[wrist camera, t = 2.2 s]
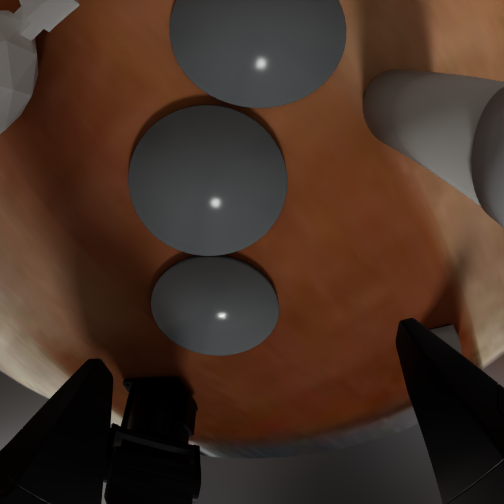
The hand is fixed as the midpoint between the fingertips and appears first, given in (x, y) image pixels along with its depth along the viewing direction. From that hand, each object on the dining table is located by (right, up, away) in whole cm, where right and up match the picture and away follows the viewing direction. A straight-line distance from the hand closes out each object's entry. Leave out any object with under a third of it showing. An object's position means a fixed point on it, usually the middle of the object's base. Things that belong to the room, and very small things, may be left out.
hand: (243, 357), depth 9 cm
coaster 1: (+1, +16, +6) cm, 17 cm away
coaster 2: (-3, -2, +16) cm, 17 cm away
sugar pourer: (+10, +12, +9) cm, 18 cm away
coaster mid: (-3, +7, +11) cm, 14 cm away
